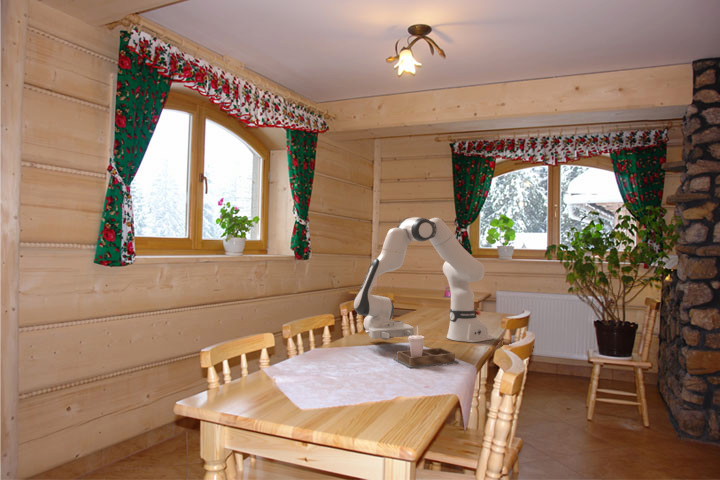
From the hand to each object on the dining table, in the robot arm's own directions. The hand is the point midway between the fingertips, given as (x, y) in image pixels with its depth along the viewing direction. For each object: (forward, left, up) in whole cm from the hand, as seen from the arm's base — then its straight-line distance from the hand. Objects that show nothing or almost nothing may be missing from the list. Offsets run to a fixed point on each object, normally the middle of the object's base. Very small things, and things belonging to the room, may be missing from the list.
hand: (400, 335), depth 198 cm
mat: (-5, +13, -8) cm, 16 cm away
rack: (-5, +13, -8) cm, 16 cm away
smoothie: (0, +14, -8) cm, 16 cm away
